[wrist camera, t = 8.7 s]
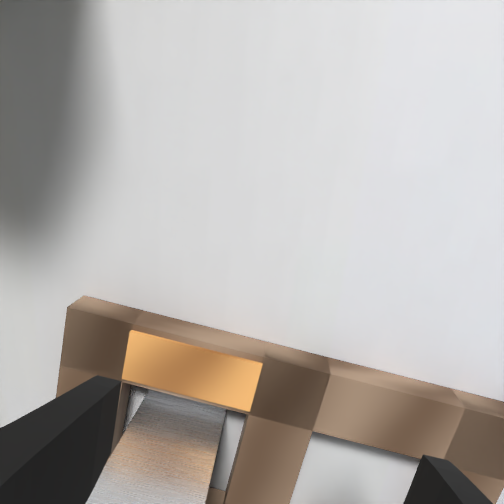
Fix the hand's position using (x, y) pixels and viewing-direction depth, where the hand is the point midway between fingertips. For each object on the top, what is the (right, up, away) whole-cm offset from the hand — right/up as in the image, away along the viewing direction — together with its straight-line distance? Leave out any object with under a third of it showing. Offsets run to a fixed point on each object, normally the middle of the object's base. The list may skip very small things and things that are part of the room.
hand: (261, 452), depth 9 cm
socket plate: (+1, -6, +11) cm, 12 cm away
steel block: (-4, -5, +11) cm, 13 cm away
